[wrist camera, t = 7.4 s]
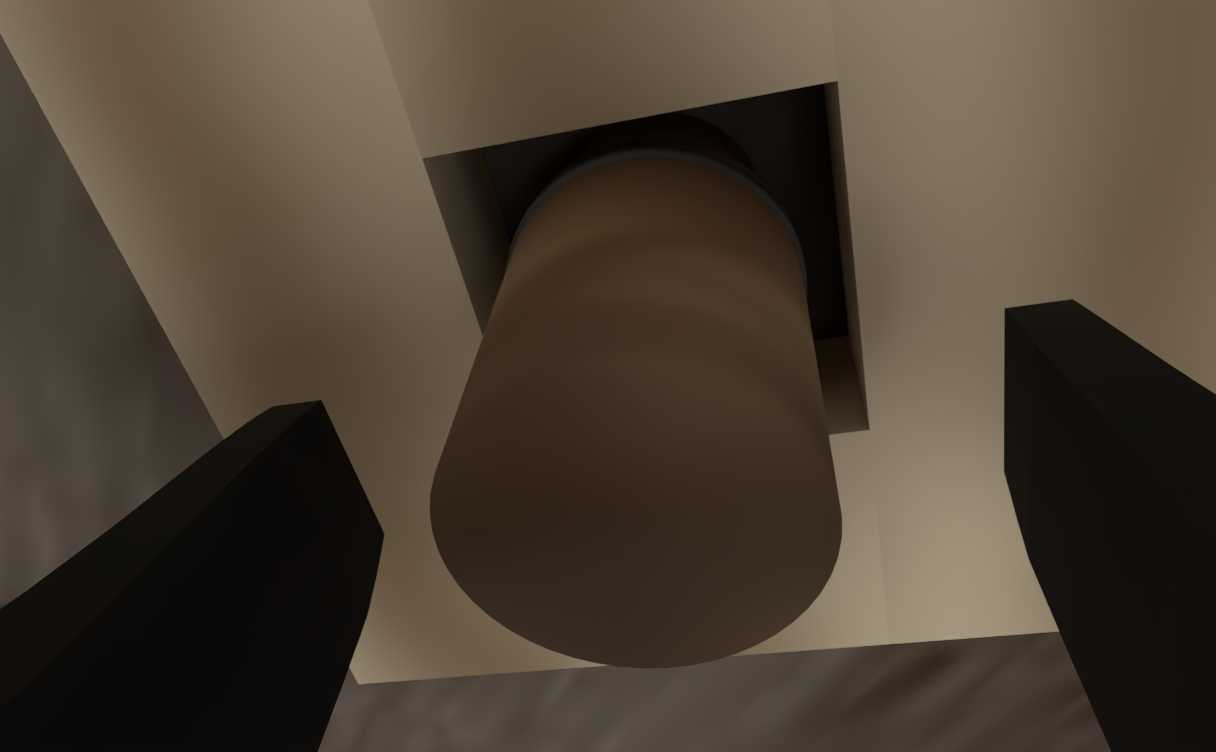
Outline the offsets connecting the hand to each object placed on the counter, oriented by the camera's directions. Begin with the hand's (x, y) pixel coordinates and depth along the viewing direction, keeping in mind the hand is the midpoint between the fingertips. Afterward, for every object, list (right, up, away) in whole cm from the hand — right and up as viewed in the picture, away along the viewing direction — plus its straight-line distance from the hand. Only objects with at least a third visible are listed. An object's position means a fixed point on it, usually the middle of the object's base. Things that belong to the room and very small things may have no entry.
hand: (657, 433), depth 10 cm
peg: (0, +3, +4) cm, 5 cm away
